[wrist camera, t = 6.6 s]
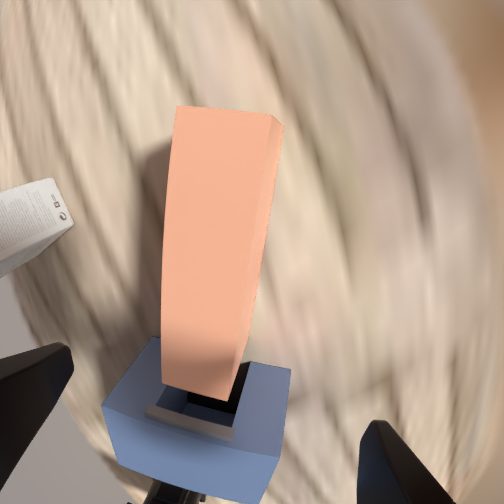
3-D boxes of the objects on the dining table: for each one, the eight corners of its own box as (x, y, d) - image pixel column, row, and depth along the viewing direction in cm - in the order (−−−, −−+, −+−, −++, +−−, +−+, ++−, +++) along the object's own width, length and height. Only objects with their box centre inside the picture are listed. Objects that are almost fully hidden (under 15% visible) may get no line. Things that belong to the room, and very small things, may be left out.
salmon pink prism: (248, 337, 20) (227, 401, 15) (196, 325, 21) (161, 383, 15) (284, 126, 16) (272, 115, 10) (219, 117, 16) (176, 105, 10)
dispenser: (272, 429, 23) (257, 505, 16) (156, 399, 24) (118, 464, 17) (292, 365, 20) (281, 453, 13) (153, 331, 21) (99, 400, 14)
